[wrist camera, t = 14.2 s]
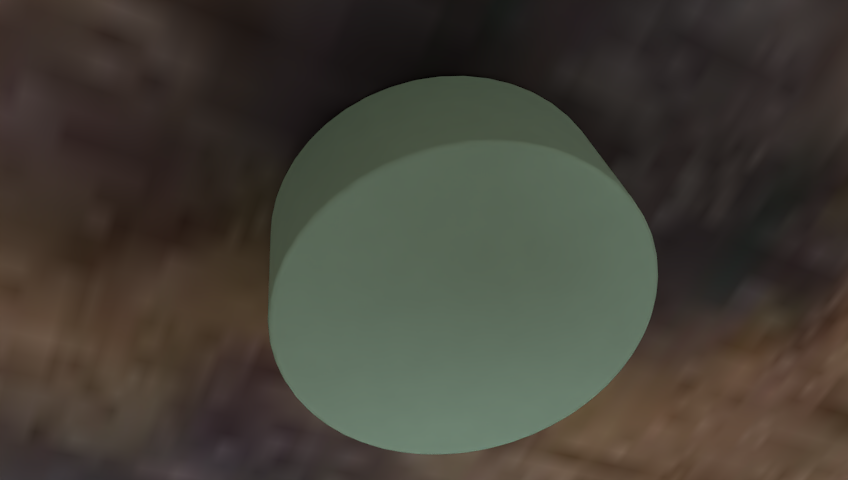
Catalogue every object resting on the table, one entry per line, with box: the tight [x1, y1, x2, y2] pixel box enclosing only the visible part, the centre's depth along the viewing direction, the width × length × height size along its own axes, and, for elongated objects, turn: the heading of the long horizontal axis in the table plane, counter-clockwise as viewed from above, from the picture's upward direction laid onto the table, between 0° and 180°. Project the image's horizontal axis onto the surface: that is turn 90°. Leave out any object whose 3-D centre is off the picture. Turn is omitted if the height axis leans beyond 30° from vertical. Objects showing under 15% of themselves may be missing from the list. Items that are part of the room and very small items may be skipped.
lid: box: [268, 76, 658, 454], centre depth 13 cm, size 6×6×2 cm
